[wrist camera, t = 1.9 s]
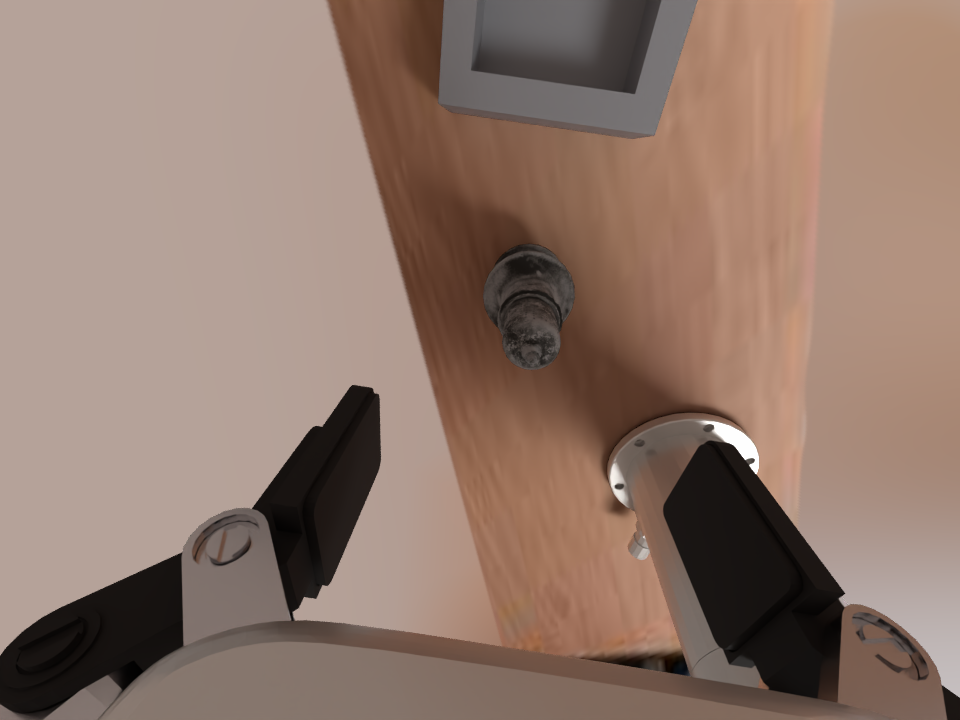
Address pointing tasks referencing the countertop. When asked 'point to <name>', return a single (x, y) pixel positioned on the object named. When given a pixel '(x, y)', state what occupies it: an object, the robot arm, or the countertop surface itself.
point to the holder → (563, 61)
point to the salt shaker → (529, 304)
